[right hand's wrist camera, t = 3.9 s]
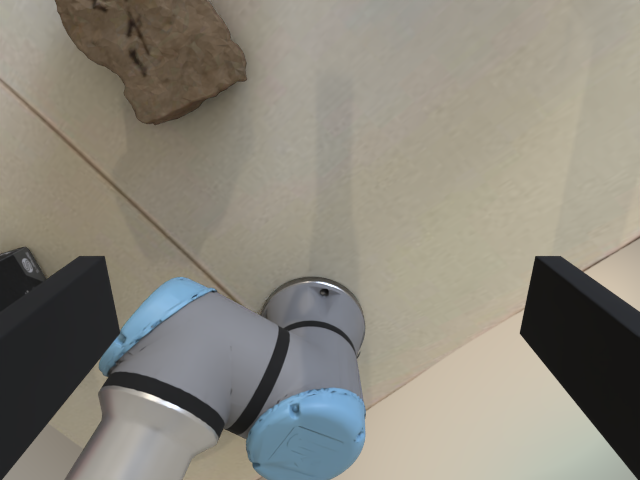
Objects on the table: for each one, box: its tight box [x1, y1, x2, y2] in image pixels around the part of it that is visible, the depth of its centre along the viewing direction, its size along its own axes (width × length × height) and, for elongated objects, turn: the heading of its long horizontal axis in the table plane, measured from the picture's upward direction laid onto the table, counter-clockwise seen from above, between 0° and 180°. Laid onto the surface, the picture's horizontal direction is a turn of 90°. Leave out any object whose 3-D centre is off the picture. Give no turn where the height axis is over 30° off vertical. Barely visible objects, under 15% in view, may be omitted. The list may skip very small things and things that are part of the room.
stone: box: [55, 0, 247, 125], centre depth 43 cm, size 21×15×6 cm
